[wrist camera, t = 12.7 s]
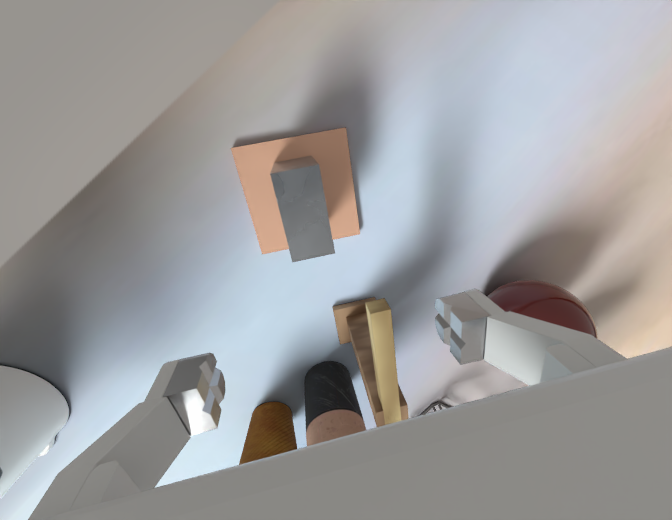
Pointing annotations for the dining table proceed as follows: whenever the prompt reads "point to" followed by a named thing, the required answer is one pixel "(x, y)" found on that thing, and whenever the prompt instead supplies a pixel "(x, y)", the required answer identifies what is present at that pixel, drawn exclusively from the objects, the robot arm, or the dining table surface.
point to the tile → (334, 172)
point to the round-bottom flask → (544, 304)
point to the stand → (373, 355)
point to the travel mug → (330, 404)
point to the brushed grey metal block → (302, 207)
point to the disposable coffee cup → (269, 432)
